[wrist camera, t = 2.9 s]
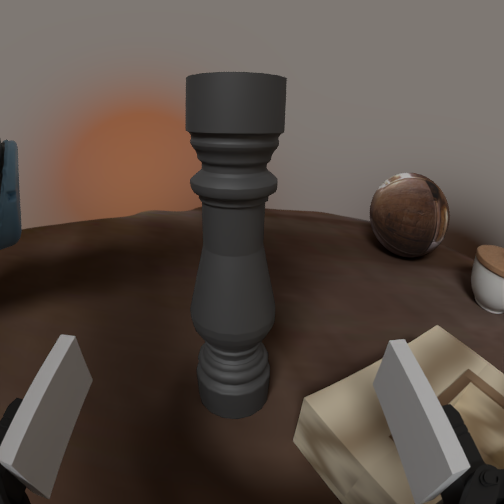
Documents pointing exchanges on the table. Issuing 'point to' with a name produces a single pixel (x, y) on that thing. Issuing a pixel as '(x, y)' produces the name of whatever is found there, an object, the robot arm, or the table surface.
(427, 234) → the clear glass sphere
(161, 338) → the table surface
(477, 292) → the lidded jar
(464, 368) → the socket block
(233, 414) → the candle holder
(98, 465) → the table surface
